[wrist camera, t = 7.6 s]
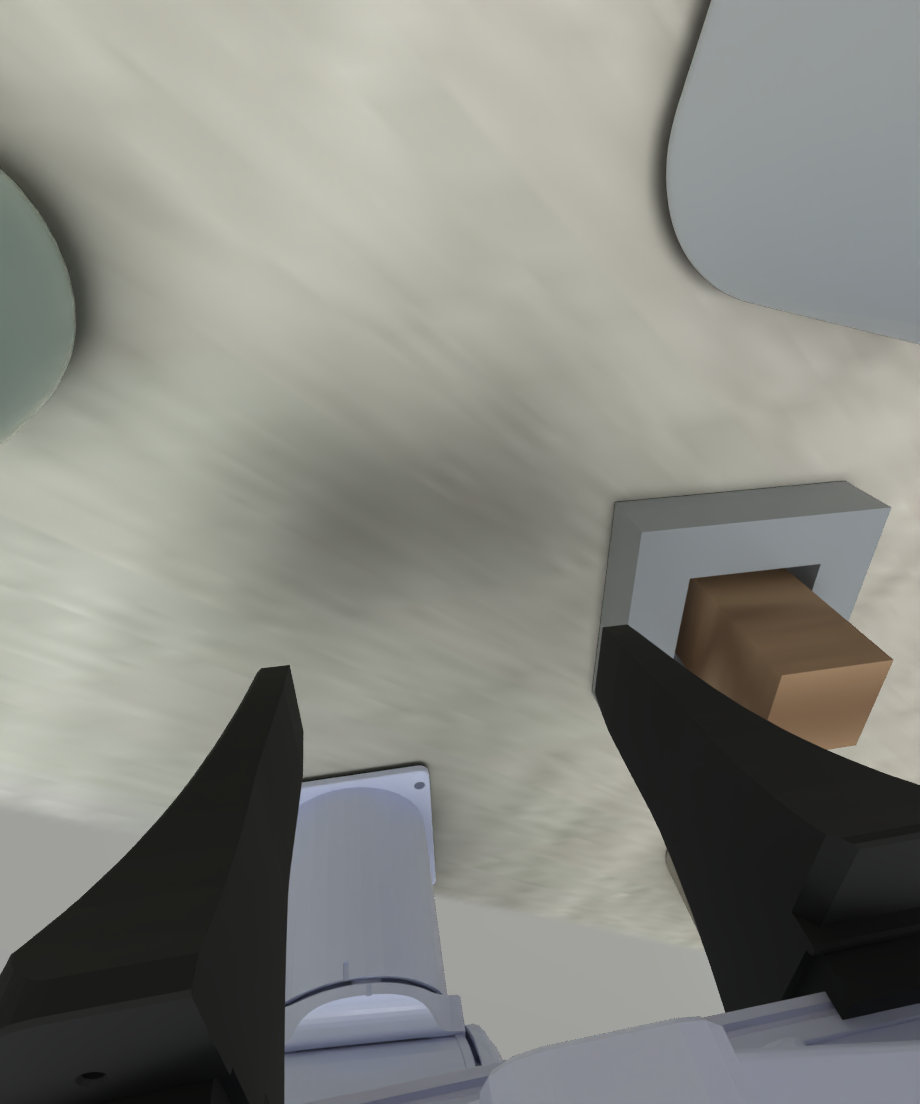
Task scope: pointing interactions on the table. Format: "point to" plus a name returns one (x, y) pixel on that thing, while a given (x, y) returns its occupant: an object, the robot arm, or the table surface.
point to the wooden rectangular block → (782, 654)
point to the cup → (30, 310)
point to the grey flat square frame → (735, 549)
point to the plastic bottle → (804, 159)
